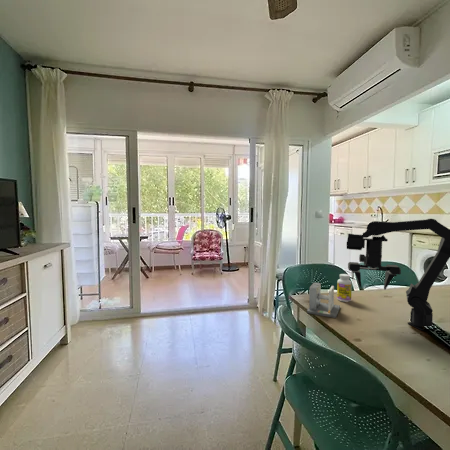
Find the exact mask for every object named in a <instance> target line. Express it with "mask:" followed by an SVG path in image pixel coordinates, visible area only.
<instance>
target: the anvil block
mask: <svg viewBox="0 0 450 450" xmlns="http://www.w3.org/2000/svg"><path fill="white" fill-rule="evenodd" d="M321 284H322V283H321V282H313V283H312V284H311V285H310V286H309V291H308V293H309V297H308V299H309V307H308V309H309V310H315V311H316V310H317V309H318V307H319V305H320V302H321V300H322V299H318V294H320V295H322V294H321V292H322V291H321V288H322V287H321V286H322V285H321Z"/></svg>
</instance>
